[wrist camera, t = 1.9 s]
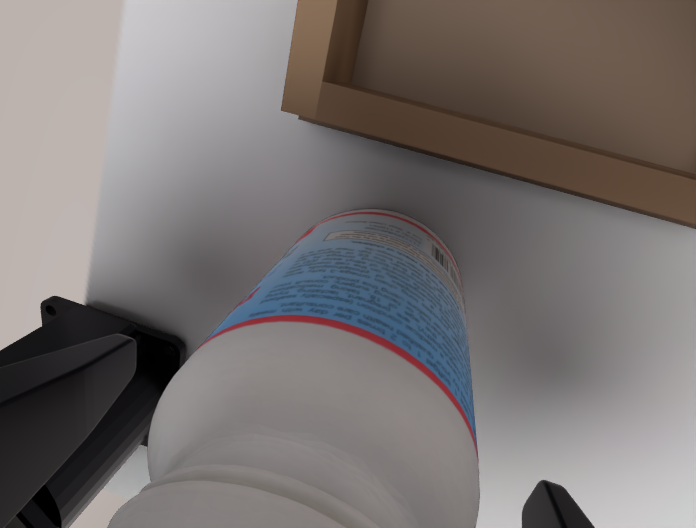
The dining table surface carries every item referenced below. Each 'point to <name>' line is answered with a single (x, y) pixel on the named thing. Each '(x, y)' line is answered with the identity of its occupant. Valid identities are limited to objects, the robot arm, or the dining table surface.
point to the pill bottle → (325, 395)
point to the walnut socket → (514, 89)
